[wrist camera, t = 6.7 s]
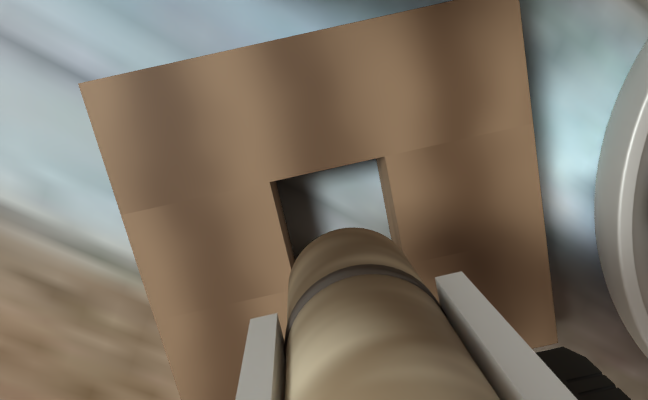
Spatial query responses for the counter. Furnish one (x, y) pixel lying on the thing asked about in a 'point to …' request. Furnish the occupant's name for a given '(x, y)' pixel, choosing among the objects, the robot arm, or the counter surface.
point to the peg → (370, 327)
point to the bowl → (626, 202)
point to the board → (320, 154)
